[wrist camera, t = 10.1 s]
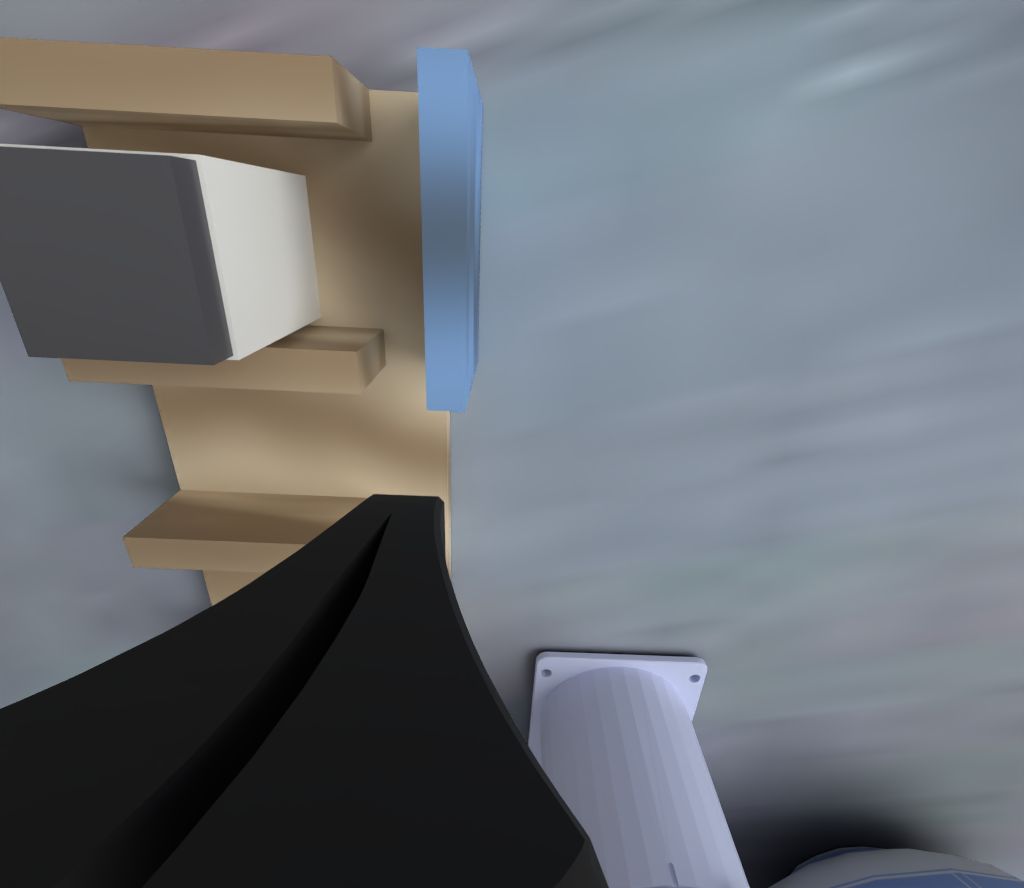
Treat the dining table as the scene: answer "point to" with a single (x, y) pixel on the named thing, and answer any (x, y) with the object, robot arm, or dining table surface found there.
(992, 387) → the dining table surface
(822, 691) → the dining table surface
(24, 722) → the robot arm
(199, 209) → the grey rectangular block
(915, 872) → the ramen bowl
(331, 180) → the cable comb
